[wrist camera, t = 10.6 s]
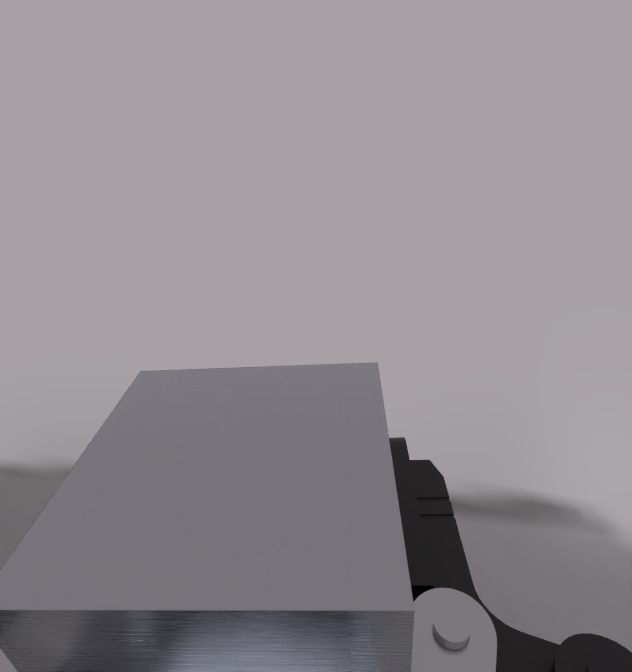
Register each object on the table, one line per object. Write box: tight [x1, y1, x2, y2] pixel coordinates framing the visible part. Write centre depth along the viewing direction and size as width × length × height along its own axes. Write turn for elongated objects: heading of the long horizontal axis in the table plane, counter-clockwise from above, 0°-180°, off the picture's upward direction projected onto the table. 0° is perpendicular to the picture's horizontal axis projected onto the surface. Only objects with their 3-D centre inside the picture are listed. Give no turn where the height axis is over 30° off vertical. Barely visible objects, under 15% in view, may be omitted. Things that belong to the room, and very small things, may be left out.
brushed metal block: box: [0, 363, 415, 672], centre depth 9 cm, size 5×5×9 cm
